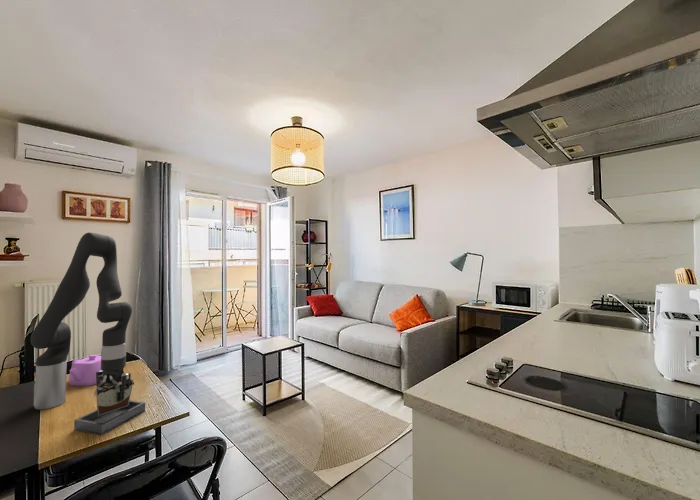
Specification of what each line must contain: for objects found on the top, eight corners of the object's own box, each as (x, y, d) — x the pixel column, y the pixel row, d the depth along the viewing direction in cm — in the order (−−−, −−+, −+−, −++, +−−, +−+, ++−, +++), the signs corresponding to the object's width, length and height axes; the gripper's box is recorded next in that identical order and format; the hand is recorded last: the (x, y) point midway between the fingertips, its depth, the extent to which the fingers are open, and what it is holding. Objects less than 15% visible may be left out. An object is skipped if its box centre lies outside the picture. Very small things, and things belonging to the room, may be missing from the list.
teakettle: (111, 371, 164) (111, 347, 164) (115, 380, 152) (116, 355, 152) (67, 379, 152) (68, 354, 153) (68, 391, 140) (69, 363, 140)
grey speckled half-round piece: (127, 397, 124) (129, 373, 123) (132, 404, 120) (135, 380, 119) (87, 409, 114) (90, 383, 113) (92, 417, 110) (95, 391, 110)
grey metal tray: (74, 430, 109) (74, 420, 109) (120, 407, 126) (120, 398, 126) (101, 435, 106) (101, 425, 106) (145, 411, 123) (145, 402, 123)
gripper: (88, 357, 115) (87, 402, 114) (119, 360, 111) (118, 407, 111) (108, 351, 122) (107, 393, 122) (138, 354, 118) (137, 397, 118)
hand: (112, 399), depth 116 cm, fingers closed on grey speckled half-round piece, 6 cm apart
